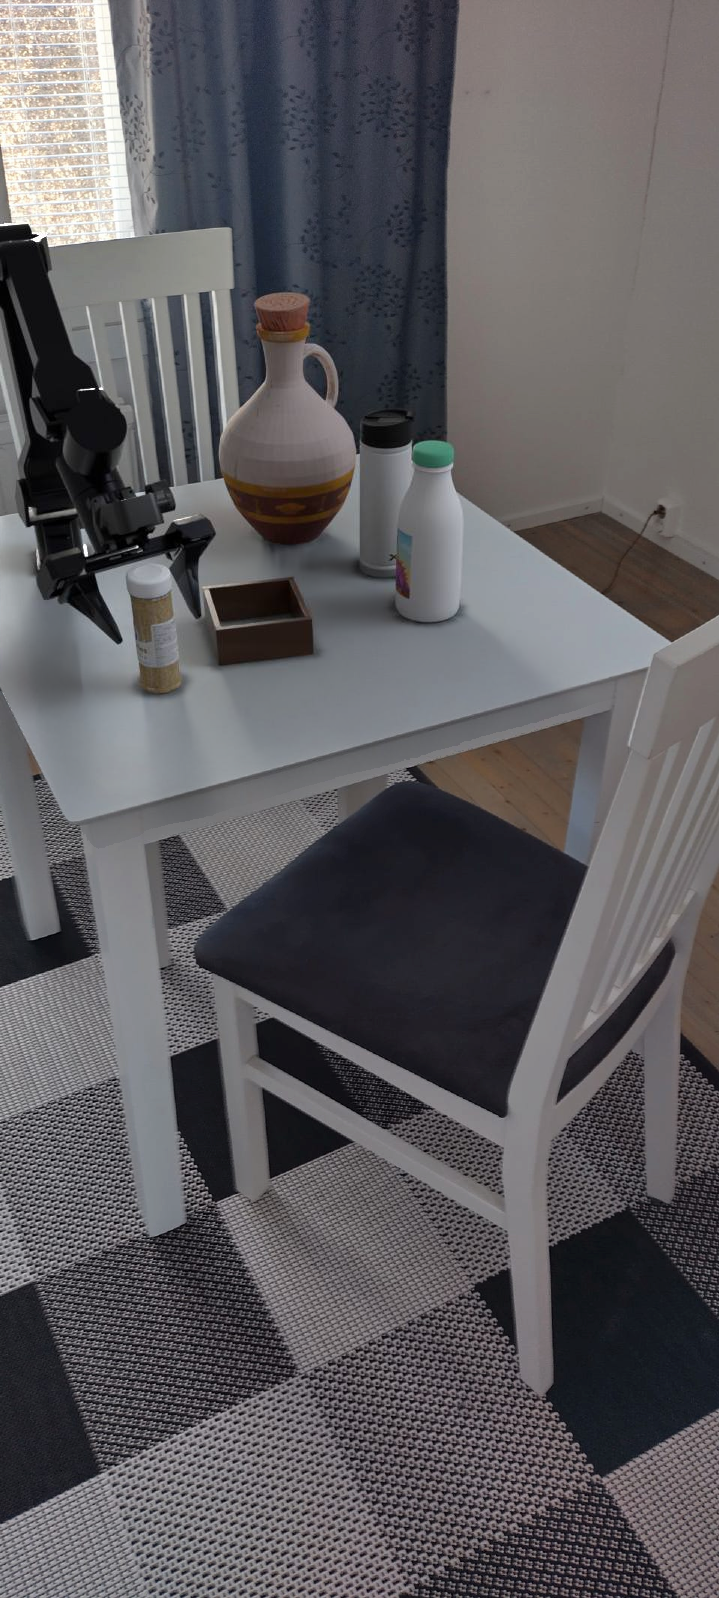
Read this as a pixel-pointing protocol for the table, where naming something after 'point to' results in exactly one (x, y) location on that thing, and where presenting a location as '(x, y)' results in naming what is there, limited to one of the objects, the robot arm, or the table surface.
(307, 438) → the jug
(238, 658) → the crate
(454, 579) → the milk bottle
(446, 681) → the table surface
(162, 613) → the sprinkles bottle
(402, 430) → the travel mug
